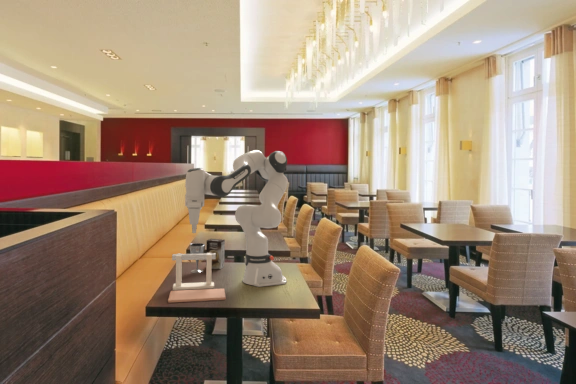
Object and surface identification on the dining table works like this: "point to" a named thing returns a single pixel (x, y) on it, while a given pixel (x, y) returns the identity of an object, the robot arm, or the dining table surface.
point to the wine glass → (197, 249)
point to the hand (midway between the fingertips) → (194, 231)
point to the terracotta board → (197, 295)
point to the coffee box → (218, 248)
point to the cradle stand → (200, 285)
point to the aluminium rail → (194, 256)
